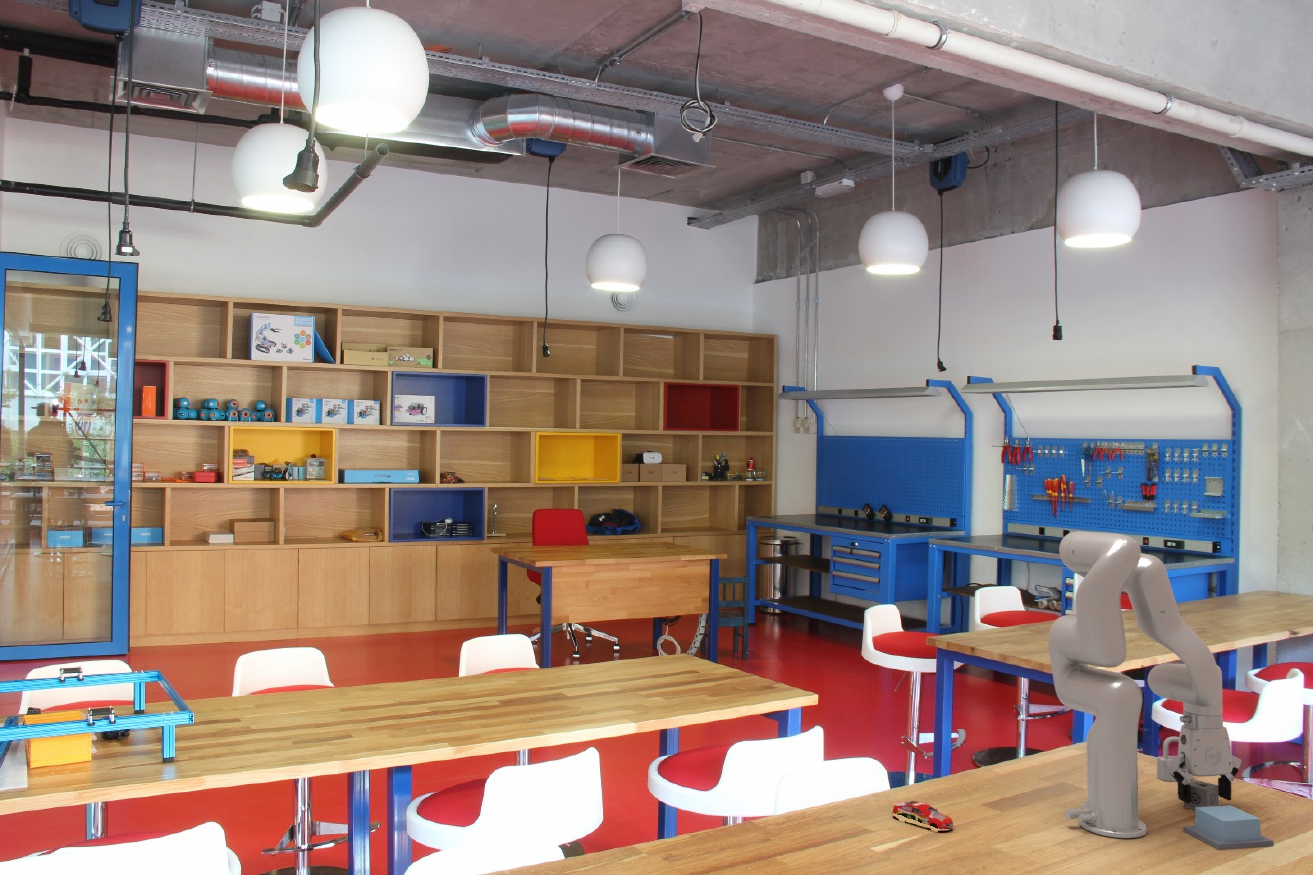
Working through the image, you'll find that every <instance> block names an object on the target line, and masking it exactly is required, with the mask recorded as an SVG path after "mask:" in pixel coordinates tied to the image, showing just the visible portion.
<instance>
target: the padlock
mask: <svg viewBox="0 0 1313 875" xmlns="http://www.w3.org/2000/svg"><path fill="white" fill-rule="evenodd" d="M1179 737H1180V736H1169V737H1167V738H1165V740H1164V741H1163V744H1162V752H1163V753H1162V756H1156V777H1157V779H1160V780H1161V781H1164V782H1177V781H1176V780H1175V778H1174V777H1173V776H1172V775H1171V774H1170V771H1169V769H1168V767H1167V765H1166V763H1167V762H1168V761H1169V760H1171V759H1173V758H1174V757H1176V756H1177V755H1169V746H1170V743H1173V742H1177V743H1179ZM1179 770H1180V768H1179V765H1178V766H1177V771H1178V772H1179ZM1185 774H1186V773H1185ZM1184 776H1185V775H1184ZM1184 776H1183V777H1184ZM1192 780H1193V777H1192V778H1191V779H1190V781H1192ZM1190 781H1189V782H1190Z"/></svg>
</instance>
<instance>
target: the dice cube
mask: <svg viewBox="0 0 1313 875" xmlns="http://www.w3.org/2000/svg"><path fill="white" fill-rule="evenodd" d="M1188 784H1189V785H1190V786H1191V802H1190V803H1186V802H1184V801H1183V808H1186V809H1190V810H1195V807H1210V806H1220V803H1219V795H1218V784H1213V783H1211V782H1206V781H1203V780H1202V781H1201V780H1197V779H1192V780H1191V781H1189V782H1188Z"/></svg>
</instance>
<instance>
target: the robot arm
mask: <svg viewBox="0 0 1313 875" xmlns="http://www.w3.org/2000/svg"><path fill="white" fill-rule="evenodd" d="M1059 557H1060V560H1061V561H1062V563H1063V565H1064V566H1065V567H1066V568H1067V569H1069V570H1070V571H1071V572H1073V573H1075V574H1077V575H1078V576H1080V577H1083V579H1082V581H1081V582H1080V584H1078V588H1077V590H1076V593H1075V600H1074V602H1075V612H1076V615H1073V614H1066V615H1062V616H1060V617H1058V618H1057V619H1055V620H1054V622H1053V623H1052V625H1051V627H1050V629H1049V632H1048V636H1047V637H1048V639H1047V642H1048V644H1047V646H1048V651H1049V652H1048V654H1049V660H1050V666H1051V671H1052V672H1051V673H1052V677H1053V678H1052V680H1053V685H1054V690H1055V694H1056V696H1057V698H1058V700H1059V702H1060V703H1061V704H1063V705H1064V706H1065V707H1067V708H1069V709H1071V710H1074V711H1078V712H1080V713H1081V712H1082V713H1086V714H1088V715H1089V714H1090V715H1092V716H1095V720H1094V722H1093V723H1092V725H1091V726H1090V728H1089V730H1088V732H1087V734H1086V742H1085V744H1086V799H1087V800H1086V801H1082V802H1081V806H1079V807H1078V808H1065V810H1064V815H1065V817H1066V819H1068V820H1071V819H1074V820H1075V819H1078V821H1079V825H1080V826H1081V827H1082V828H1083V829H1085V830H1086V831H1089V832H1091V833H1093V834H1096V835H1100V836H1104V837H1108V838H1109V837H1111V838H1117V839H1134V838H1140V837H1144V836H1145V835H1146V834H1147V833H1148V832H1147V831H1148V827H1147V824H1146V823H1144V821H1142V820H1140V819H1139V787H1138V786H1139V783H1138V781H1139V780H1138V779H1139V778H1138V777H1139V776H1138V775H1139V773H1138V772H1139V771H1138V769H1139V768H1138V765H1139V764H1138V731H1139V730H1138V729H1139V722H1140V716H1141V710H1142V706H1143V692H1142V689H1141V687H1140V685H1139V684H1138V682H1136V681H1135V680H1134V679H1133V678H1131V677H1130V676H1128V675H1126V674H1122V673H1120V672H1116V671H1112V670H1107V669H1103V668H1116V667H1119V666H1121V665H1123V663H1124V662H1125V660H1126V657H1127V653H1128V652H1127V650H1128V649H1127V641H1126V635H1125V627H1124V621H1123V620H1124V618H1123V613H1122V604H1121V603H1122V602H1121V597H1122V592H1125V593H1126V594H1127V595H1128V599H1129V601H1130V604H1131V608H1132V611H1133V613H1134V617H1135V620H1136V624H1137V627H1138V628H1139V630H1140V631H1141V632H1142V633H1143V634H1144V635H1146V636H1147V637H1149V638H1150V639H1152V640H1153V641H1154V642H1156V643H1157V644H1159V645H1162V646H1163V647H1164V648H1166V649H1167V650H1169V651H1170V652H1172V653H1173V654H1174V655H1176V657H1178V658H1179V659H1180V660H1181V661H1182V663H1169V662H1165V663H1160V664H1159V663H1158V664H1157V665H1155V666H1154V667H1153V668H1151V670H1150V671H1149V673H1148V676H1147V685H1148V687H1149V689H1150V691H1151V692H1153V693H1154V694H1155V695H1156V696H1158V697H1160V698H1163V699H1167V700H1171V701H1175V702H1182V703H1183V715H1181V716H1179V721H1180V722H1181V723H1183V724H1182V725H1181V726H1180V730H1179V731H1180V732H1179V736H1178V737H1179V742H1178V750H1177V755H1175V756H1176V757H1174V758H1173V759H1171V760H1169V761H1168V762H1167V763H1166V765H1167V767H1168V769H1169V771H1170V774H1171V775H1172V776H1173V777H1174V778H1175V780H1176V781H1175V782H1177V798H1178V799H1179V801H1182V802H1183V803H1184V802H1186V803H1190V802H1191V786H1190V785H1189V784H1188V782H1190V779H1191V778H1192V779H1193V777H1215V776H1217V777H1218V776H1220V777H1218V779H1217V785H1218V797H1220V798H1221V799H1224V800H1226V801H1231V800H1232V782H1234V780H1235V776H1236V775H1237V774H1238V773H1239V768H1240V766H1241V764H1242V759H1241V758H1239V757H1237V756H1235V755H1233V754H1232V746H1231V741H1230V737H1229V732H1228V729H1227V727H1225V726H1224V717H1223V710H1224V709H1223V707H1224V706H1223V672H1222V669H1221V667H1220V666H1219V665H1218V664H1217V662H1216V659H1215V657H1214V656H1215V655H1213V653H1212V651H1211V649H1210V648H1209V647H1208V645H1207V644H1206V643H1205V642H1204V640H1203V639H1202V638H1201V637H1200V636H1199V635H1198V634H1197V633H1196V631H1194V630H1193V629H1192V628H1191V627H1190V626H1189V624H1187V623H1186V622H1185V621H1184V620H1183V619H1182V616H1181V614H1180V611H1179V608H1178V604H1177V602H1176V601H1177V600H1176V598H1175V595H1174V591H1173V588H1172V585H1171V581H1170V578H1169V576H1168V575H1169V574H1168V571H1167V569H1166V566H1165V564H1164V562H1163V561H1162V560H1161V559H1160V558H1159V557H1157V556H1154V555H1152V554H1148V553H1142V550H1141V546H1140V544H1139V542H1138V541H1137V540H1136V539H1135V538H1134V537H1132V536H1130V535H1125V534H1120V533H1114V532H1112V533H1111V532H1097V531H1096V532H1095V531H1084V530H1083V531H1082V530H1081V531H1079V530H1078V531H1072V532H1069V533H1068V534H1065V536H1064V537H1063V538H1062V539H1061V541H1060V543H1059ZM1093 666H1094V667H1093ZM1096 667H1099V668H1096ZM1178 765H1179V768H1180V770H1179V772H1178V771H1177V766H1178ZM1185 773H1186V774H1185ZM1184 775H1185V776H1184ZM1183 776H1184V777H1183Z"/></svg>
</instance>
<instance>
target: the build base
mask: <svg viewBox="0 0 1313 875" xmlns="http://www.w3.org/2000/svg"><path fill="white" fill-rule="evenodd" d="M1194 812H1195V815H1194V816H1195V817H1194V818H1195V819H1194V820H1195V822H1194V823H1195V824H1194V825H1183V826H1182V827H1183V828H1182V830H1183V831H1182V832H1183V833H1186V834H1188V835H1190V836H1191V837H1193V838H1194V839H1195V838H1196V839H1197V840H1199V841H1201V842H1203V843H1205V844H1206V845H1208V846H1211V847H1212V848H1214V849H1215V850H1218V851H1219V850H1221V851H1222V850H1233V849H1234V850H1235V849H1250V848H1263V847H1265V848H1266V847H1274V845H1275V844H1274V843H1275V842H1274V840H1273V839H1270V838H1268V837H1267V836H1265V835H1263V834H1261V818H1259V817H1257V816H1255V815H1253V814H1250V813H1249V812H1246V811H1244V810H1242V809H1240V808H1237V807H1236V806H1233V805H1232V804H1231V805H1230V804H1229V805H1219V806H1210V807H1195V811H1194Z"/></svg>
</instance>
